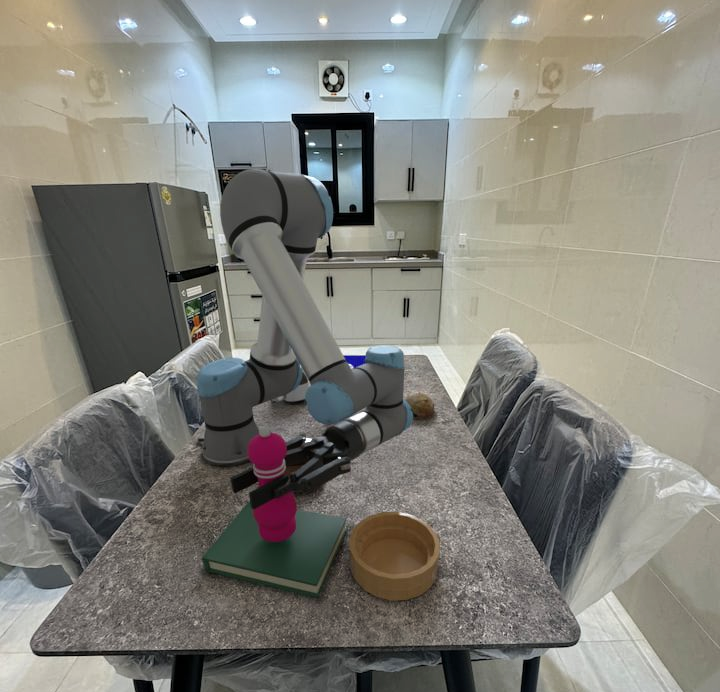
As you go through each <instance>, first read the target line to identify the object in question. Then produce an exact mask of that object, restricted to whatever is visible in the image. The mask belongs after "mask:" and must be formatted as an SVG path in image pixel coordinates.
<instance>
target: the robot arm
mask: <svg viewBox="0 0 720 692" xmlns="http://www.w3.org/2000/svg"><path fill="white" fill-rule="evenodd" d="M219 209H220V210H219V215H220V216H219V217H220V223H221V227H222V232H223V234H224V237H225V239H226V242H227V244H228V246H229V247H230V250H231V251H232V253H233V255H234V256H235V257H236V258H238V259H242V260H243V261H244V263H245V266H246V267H247V269H248V271H249V272H250V275H251V277H252V278H253V280H254V282H255V283H256V286H257V287H258V289H259V291H260V293H261V294H262V296H261V305H260V316H259V325H258V335H257V342H255V343H253V344H252V345H251V347H250V351H249V359H247V360H244V359H243V358H240V357H227V358H221V359H216V360H214V361H210V362H209V363H207V364H205V365H203V366H202V367H201V368H200V369H199V370H198V372H197V374H196V392H197V394H198V398H199V403H200V407H201V411H202V416H203V421H204V422H203V423H204V426H205V427H204V428H205V431H204V437H202V438H199V437H198V438H197V442H202V448H201V449H202V450H201V451H202V456H203V459H204V461H205V462H207V463H208V464H210V465H213V466H219V467H233V466H238V465H242V464H245V463H248V462H251V461H250V459H249V458H248V451H247V449H248V445H249V443H250V441H251V440H252V439H253V438H254V437H255V436H257V435H259V429H260V428H259V427H258V425H257V423H256V421H255V418H254V411H253V408H254V407H256V406H259V405H262V404H264V403H267V402H270V401H272V399H275V398H277V399H278V398H280V397H283V396H284V395H286V394H288V393H289V392H291V391H293V390H295V389H296V388H297V387H298V386H299V384H300V382H301V379H302V369H303V372H304V373H305V375H306V377H307V380H308V383H309V384H310V385H309V386H308V387H309V388H308V389H307V391H306V395H305V400H306V401H305V402H306V408H307V411H308V413H309V415H310V416H311V417H312V419H314V420H315V421H316V422H318V423H320V424H321V425H327V426H328V425H329V426H328V427H327V428H326V429H325V431H324V433H323V434H322V435H321V436H320V435H319V436H315V437H313V438H311V437H310V438H309V437H307V434H306V433H304V432H303V433H300V434H299V435H297V436H296V437H295V438H293V439H291V440H288V441H285V443H286V446H287V454H286V456H285V458H284V460H285V465H286V467H289V466H292V465H295V464H298V463H301V462H304V463H306V464H305V465H303V466H302V467H301V468H300V469H298V470H297V471H296V472H291V471H290V479H288V476H287V475H286V474H284V475H283V476H281V477H279V478H277V479H275V480H273V481H271V482H269V483H267V484H265V485H263V486H261V487H259V488H258V487H257V488H254V489H253V490H250V491H249V492H248V496H249V497H248V498H249V501H250V504H251V508H252V509H253V510H254V509H256V508H258V507H260V506H262V505H263V504H265V503H267V502H269V501H271V500H272V499H274V498H276V499H277V498H280V497H282V496H284V495H285V494H287V493H289V492H291V491H297V490H299V491H301V492H300V493H301V494H302V495H308V494H310V493H311V492H313V491H315V490H316V489H318V488H320V487H321V486H323V485H325V484H327V483H329V482H330V481H332V480H334V479H335V478H337V477H339V476H340V475H345V474H348V473H351V471H352V464H351V462H352V461H353V460H355V459H357V458H358V457H360V456H362V455H364V454H365V453H367V452H369V451H370V450H373V449H375V448H377V447H378V446H380V445H382V444H384V443H386V442H387V441H390V440H392V439H393V438H395V437H398V436H400V435H401V434H402V433H403V432H405V431H406V430H407V429H409V428H410V427H411V425H412V424H413V420H414V418H413V412H412V411H411V407H410V405H409V404H408V402H407V401H405V398H404V389H405V370H406V368H405V354H404V351H403V349H401V348H399V347H397V346H394V345H385V344H383V345H375V346H371V347H368V349H367V351H366V352H365V355H366V357H365V364H363V365H361V366H358V367H355V368H353V369H351V368H350V366H349V364H348V363H347V361H346V360H345V358H344V356H343V355H344V354H343V353H342V350H341V348H340V347H339V344H338V343H337V341H336V339H335V337H334V335H333V333H332V332H331V330H330V328H329V326H328V324H327V322H326V321H325V319H324V317H323V315H322V313H321V311H320V309H319V307H318V306H317V304H316V302H315V300H314V298H313V296H312V294H311V293H310V291H309V289H308V287H307V285H306V283H305V281H304V278H305V273H306V268H307V267H306V265H307V262H308V261H307V260H308V258H309V257H311V256H313V255H314V254H315V253H316V249H317V243H318V239H321V238H323V237H325V236H326V234H328V233H329V232H330V229H331V228H332V225H333V220H334V207H333V202H332V198H331V196H330V195H329V192H328V190H327V188H326V186H325V185H324V184H323V183H322V182H321V181H320V180H319V179H317V178H315V177H313V176H310V175H305V174H301V173H299V172H297V173H296V172H285V171H274V170H265V169H262V168H261V169H260V168H250V169H246V170H243V171H241V172H238V173H237V174H236V175H234V176H233V177H232V178H231V179H230V180H229V182H228V183H227V185H226V186H225V188H224V190H223V193H222V196H221V199H220V205H219ZM300 365H301V367H300ZM365 408H366V409H365ZM363 409H365V410H363ZM361 410H363V411H361ZM359 411H361V412H359ZM308 482H310V484H309V485H308ZM230 484H231V490H232V491H231V492H233V493H234V494H238V493H239V492H242V491H244V490H245V489H248V488H249V487H252V486H254V485H255V484H258V477H257V476H256V475H255V474H254V469H253V465H252V466H250V467H248V468H247V469H246V470H245V469H244V470H243V471H241V472H239V473H236V474H234V475H232V476H230Z"/></svg>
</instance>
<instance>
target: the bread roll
mask: <svg viewBox="0 0 720 692" xmlns="http://www.w3.org/2000/svg"><path fill="white" fill-rule="evenodd" d="M404 400H405V401H407V402H408V404H409V405H410V407H411V411H412V412H413V419H415V420H428V419H431V418H432V417H433V416H434V413H435V402H434V400H433V399H432V398H431V397H430V396H428V395H427V394H425V393H422V392H418V393H415V394H412V395H407V397H405V398H404Z"/></svg>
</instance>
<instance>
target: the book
mask: <svg viewBox="0 0 720 692" xmlns="http://www.w3.org/2000/svg"><path fill="white" fill-rule="evenodd" d="M295 520H296V530H295V532H294V533H293V534H292V535H291V536H290V537H289V538H287V539H286V540H283V541H280V542H269V541H266V540H264V539H263V538H262V537H261V536H260V533H259V528H258V523H257V522H256V520H255V519H254V516H253V509H252V508H251V504H250V500H249V501H248V502H247V503H246V504H245V505H244V507H243V508H242V509H241V510H240V511H239V513H238V514H237V515H236V516H235V517H234V519H233V520H232V521H231V522H230V523H229V525H228V526H227V527H226V528H225V530H223V532H222V533H221V534H220V535H219V536H218V538H217V539H216V540H215V541H214V542H213V544H212V545H211V546H210V547H209V548H208V550H207V551H206V552H205V553H203V554H204V555H202V556H201V560H202V564H203V568H204V571H205V572H208V573H212V574H216V575H221V576H224V577H229V578H232V579H236V580H241V581H244V582H249V583H254V584H257V585H261V586H266V587H270V588H274V589H278V590H282V591H287V592H290V593H295V594H298V595H304V596H308V597H311V598H316V599H318V598H319V596H320V594H321V592H322V590H323V587H324V585H325V583H326V580H327V578H328V576H329V573H330V571H331V568H332V566H333V564H334V561H335V559H336V557H337V555H338V552H339V550H340V548H341V546H342V544H343V541H344V539H345V536H346V534H347V532H348V529H347V528H346V522H347V517H341V516H335V515H331V514H330V515H329V514H325V513H318V512H313V511H308V510H303V509H297V512H296V514H295Z"/></svg>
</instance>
